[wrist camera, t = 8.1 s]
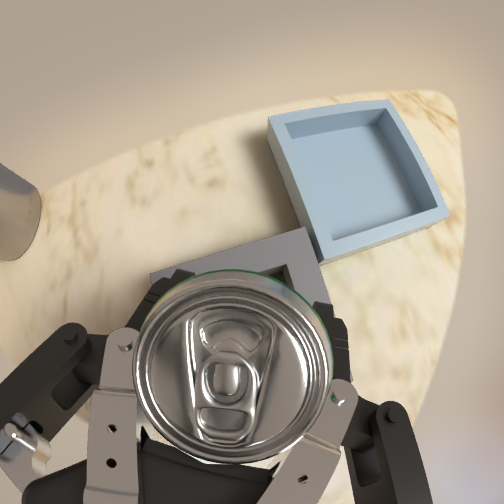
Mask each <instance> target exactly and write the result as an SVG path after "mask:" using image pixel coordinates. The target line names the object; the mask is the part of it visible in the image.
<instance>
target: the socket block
mask: <svg viewBox="0 0 504 504" xmlns="http://www.w3.org/2000/svg"><path fill="white" fill-rule="evenodd" d="M177 268H179V269H183V270H187V271H191V272H194V273H195V275H198V274H202V273H205V272H208V271H214V270H221V269H242V270H249V271H255V272H258V273H262V274H265V275H271V274H274V273H277V272H280V271H282V272H283V275H284V278H285V281H286V284H287V285H288V286H290V287H291V288H292V289H294V290H295V291H297V292H298V293H299V294H300V295H301V296H302V297H303V298H304V299H305V300H306V301H308V302H309V303H310V305H311V306H313V304H314V302H315V301H318V302H323V303H328V304H331V301H330V298H329V295H328V292H327V289H326V286H325V282H324V279H323V276H322V273H321V270H320V267H319V264H318V261H317V258H316V256H315V253H314V250H313V247H312V244H311V241H310V238H309V236H308V233H307V230H306V227H302V228H299V229H295V230H292V231H289V232H285V233H282V234H279V235H275V236H272V237H269V238H265V239H262V240H259V241H255V242H252V243H249V244H245V245H242V246H239V247H235V248H232V249H229V250H225V251H222V252H219V253H216V254H212V255H209V256H206V257H202V258H199V259H196V260H193V261H189V262H186V263H183V264H180V265H176V266H173V267H170V268H167V269H164V270H160V271H157V272H154V273H151V274H150V278H151V282H152V285H153V284H154V283H155V282H156V281H158V280H159V279H161V278H162V277H166V278H169V279H170V278H171V277H172V275H173V274H174V272H175V271H176V269H177ZM334 318H336V317H335V314H334ZM350 380H351V382H352V381H353V378H352V374H351V370H350Z"/></svg>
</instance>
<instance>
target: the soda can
mask: <svg viewBox="0 0 504 504" xmlns="http://www.w3.org/2000/svg"><path fill="white" fill-rule="evenodd" d="M132 376H133V384H134V388H135V393H136V396H137V399H138V401H139V404H140V406H141V408H142V410H143V412H144V413H145V415H146V417H147V419H148V420H149V421H150V423H151V424H152V425H153V426H154V428H155V429H156V430H157V431H158V432H159V433H160V434H161V435H162V436H163V437H164V438H165V439H166V440H167V441H169V442H170V443H171V444H173V445H174V446H176V447H177V448H179V449H180V450H182V451H184V452H186V453H188V454H190V455H192V456H194V457H197V458H200V459H203V460H206V461H211V462H216V463H221V464H245V463H253V462H257V461H261V460H265V459H268V458H270V457H273V456H275V455H278V454H280V453H282V452H283V451H285V450H287V449H288V448H290V447H291V446H293V445H294V444H295V443H297V442H298V441H299V440H300V439H301V438H302V437H304V435H305V434H306V433H307V432H308V431H309V430H310V428H311V427H312V426H313V425H314V423H315V421H316V420H317V418H318V416H319V415H320V413H321V411H322V408H323V406H324V404H325V401H326V399H327V396H328V393H329V391H330V387H331V382H332V377H333V354H332V347H331V343H330V340H329V336H328V333H327V330H326V328H325V326H324V324H323V322H322V321H321V319H320V317H319V315H318V314H317V313H316V311H315V310H314V309H313V307H312V306H311V305H310V303H309V302H308V301H306V300H305V299H304V298H303V297H302V296H301V295H300V294H299V293H298V292H297V291H295V290H294V289H292V288H291V287H290V286H288V285H287V284H285V283H283V282H281V281H279V280H277V279H275V278H273V277H271V276H268V275H265V274H262V273H258V272H255V271H249V270H242V269H221V270H214V271H208V272H205V273H202V274H198V275H195V276H192V277H190V278H188V279H186V280H184V281H182V282H180V283H179V284H177V285H176V286H174V287H173V288H172V289H170V290H169V291H168V292H166V293H165V294H164V295H163V296H162V297H161V298H160V299H159V300H158V301H157V302H156V304H155V305H154V306H153V308H152V309H151V311H150V312H149V314H148V315H147V317H146V319H145V321H144V323H143V325H142V327H141V330H140V334H139V336H138V338H137V341H136V345H135V349H134V352H133V361H132Z"/></svg>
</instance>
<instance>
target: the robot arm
mask: <svg viewBox="0 0 504 504" xmlns="http://www.w3.org/2000/svg"><path fill="white" fill-rule="evenodd" d="M40 213H41V199H40V195H39V192H38V190H37V188H36V187H35V186H34V185H32V184H31V183H29V182H28V181H26V180H25V179H23V178H21V177H20V176H18V175H17V174H15V173H14V172H13V171H11V170H9V169H8V168H7V167H5V166H4V165H2V164H1V163H0V258H2V259H6V260H9V261H10V260H15V259H17V258H19V257H20V256H21V255H22V254H23V253H24V252H25V251H26V250H27V248H28V247H29V245H30V243H31V242H32V240H33V238H34V235H35V233H36V230H37V227H38V224H39V219H40ZM192 276H195V273H194V272H191V271H187V270H183V269H179V268H177V269H176V271H175V272H174V274H173V275H172V277H171V278H170V279H169V278H166V277H162V278H161V279H159V280H158V281H156V282H155V283H154V284H153V285H152V287H151V288H150V290H149V291H148V294H146V296H145V297H144V299H143V301H142V302H141V303H140V305H139V306H138V308H137V309H136V311H135V312H134V314H133V315H132V317H131V319H130V320H129V322H128V323H127V325H126V326H125V327H124V328H119V329H116V330H114V331H113V332H112V333H111V334H110V335H94V334H87V331H86V329H85V328H84V327H83V326H82V325H81V324H78V323H67V324H65V325H63V326H61V327H60V328H59V329H58V330H57V331H56V332H54V333H53V334H52V335H51V336H50V337H49V338H48V339H47V340H46V341H44V342H43V343H42V344H41V345H40V346H39V347H38V348H37V349H36V350H35V351H34V352H33V353H31V354H30V355H29V356H28V357H27V358H26V359H25V360H24V361H23V362H22V363H21V364H20V365H19V366H18V367H17V368H16V369H15V370H14V371H13V372H12V373H11V374H10V375H9V376H8V377H7V378H6V379H5V380H4V381H3V382H2V383H1V384H0V467H1V468H2V469H3V471H4V472H5V473H6V475H7V476H8V477H9V478H10V479H11V481H12V482H13V483H14V484H15V486H16V487H17V488H18V489H19V490H20V491H21V493H22V494H23V495H22V504H317V503H318V501H319V499H320V498H321V496H322V494H323V492H324V490H325V488H326V486H327V484H328V482H329V480H330V479H331V476H332V474H333V472H334V470H335V468H336V466H337V464H338V462H339V459H340V456H341V451H339V448H340V445H341V446H344V450H345V455H346V459H347V464H348V469H349V474H350V479H351V485H352V490H353V495H354V501H355V504H433V502H432V497H431V493H430V489H429V485H428V481H427V477H426V473H425V470H424V466H423V462H422V459H421V455H420V452H419V449H418V445H417V442H416V439H415V435H414V432H413V429H412V426H411V423H410V420H409V417H408V414H407V412H406V410H405V408H404V407H403V406H402V405H401V404H399V403H397V402H394V401H387V402H384V403H382V404H381V405H377V404H375V403H372V402H370V401H367V400H365V399H363V398H362V397H360V396H359V395H358V394H357V391H356V389H355V388H354V386H353V385H352V384H351V380H350V361H349V350H348V348H349V346H348V334H347V328H346V326H345V324H344V322H343V321H342V319H339V318H334V311H333V305H332V304H328V303H323V302H318V301H315V302H314V304H313V306H312V307H313V309H314V310H315V311H316V313H317V314H318V315H319V317H320V319H321V321H322V322H323V324H324V326H325V328H326V330H327V333H328V336H329V340H330V343H331V347H332V354H333V377H332V382H331V387H330V391H329V393H328V396H327V399H326V401H325V404H324V406H323V408H322V411H321V413H320V415H319V416H318V418H317V420H316V421H315V423H314V425H313V426H312V427H311V428H310V430H309V431H308V432H307V433H306V434H305V435H304V437H302V438H301V439H300V440H299V441H298V442H297V443H295V444H294V445H293V446H291V447H290V448H288V449H287V450H285V451H283V452H282V453H280V454H278V455H276V456H275V458H274V459H273V460H272V462H271V463H270V464H269V466H268V467H267V469H263V468H256V467H251V466H245V465H240V464H205V463H202V462H200V461H198V460H196V459H195V458H193V457H191V456H189V455H187V454H186V453H184V452H182V451H181V450H179V449H177V448H175V447H172V446H169V445H166V444H163V443H161V442H158V441H155V431H154V426H153V425H152V424H151V423H150V421H149V420H148V419H147V417H146V415H145V413H144V412H143V410H142V408H141V406H140V404H139V401H138V399H137V396H136V393H135V388H134V384H133V376H132V361H133V352H134V349H135V345H136V341H137V338H138V336H139V334H140V330H141V327H142V325H143V323H144V321H145V319H146V317H147V315H148V314H149V312H150V311H151V309H152V308H153V306H154V305H155V304H156V302H157V301H158V300H159V299H160V298H161V297H162V296H163V295H164V294H165V293H166V292H168V291H169V290H170V289H172V288H173V287H174V286H176V285H177V284H179V283H180V282H182V281H184V280H186V279H188V278H190V277H192ZM98 387H99V388H98ZM91 395H92V399H91V408H90V418H89V430H88V447H87V459H86V460H83V461H81V462H79V463H76V464H74V465H72V466H69V467H67V468H64V469H62V470H59V471H57V472H54V473H52V474H49V475H46V469H45V468H46V463H47V461H48V460H49V459H50V457H51V447H50V444H49V442H50V441H51V440H52V439H53V438H54V436H55V435H56V434H57V433H58V432H59V431H60V430H61V428H62V427H63V426H64V425H65V424H66V423H67V422H68V421H69V420H70V418H71V417H72V416H73V415H74V414H75V413H76V412H77V411H78V409H79V408H80V407H81V406H82V405H83V404H84V403H85V402H86V401H87V400H88V398H89V397H90V396H91Z"/></svg>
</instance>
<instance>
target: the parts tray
mask: <svg viewBox="0 0 504 504" xmlns="http://www.w3.org/2000/svg"><path fill="white" fill-rule="evenodd" d="M267 141H268V143H269V146H270V148H271V151H272V153H273V156H274V158H275V161H276V163H277V166H278V168H279V171H280V173H281V176H282V179H283V181H284V184H285V186H286V189H287V192H288V194H289V197H290V200H291V202H292V205H293V208H294V210H295V213H296V216H297V219H298V221H299V224H300V227H301V228H302V227H306V230H307V233H308V236H309V238H310V241H311V244H312V247H313V250H314V253H315V256H316V258H317V261H318V264H319V266H320V265H323V264H326V263H329V262H332V261H335V260H338V259H341V258H344V257H347V256H350V255H353V254H356V253H359V252H362V251H365V250H368V249H371V248H373V247H376V246H379V245H382V244H385V243H388V242H390V241H393V240H396V239H399V238H402V237H404V236H407V235H410V234H413V233H415V232H418V231H421V230H423V229H426V228H429V227H431V226H433V225H435V224H436V223H438V222H440V221H442V220H443V219H445V218H447V217H449V216H450V213H449V211H448V208H447V206H446V204H445V201H444V199H443V197H442V194H441V192H440V190H439V188H438V185H437V183H436V181H435V179H434V177H433V175H432V173H431V171H430V169H429V167H428V165H427V163H426V161H425V159H424V157H423V155H422V153H421V151H420V150H419V148H418V146H417V144H416V142H415V141H414V139H413V137H412V135H411V134H410V132H409V130H408V129H407V127H406V125H405V124H404V122H403V120H402V119H401V117H400V116H399V114H398V112H397V111H396V109H395V108H394V106H393V105H392V103H391V102H390V100H375V101H364V102H355V103H346V104H338V105H331V106H324V107H318V108H312V109H306V110H300V111H295V112H289V113H284V114H279V115H275V116H270V117H268V133H267Z"/></svg>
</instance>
